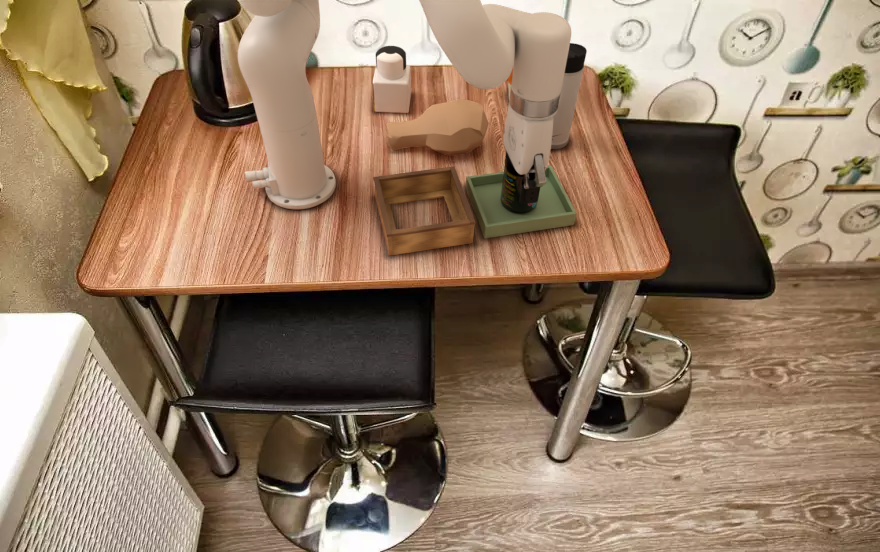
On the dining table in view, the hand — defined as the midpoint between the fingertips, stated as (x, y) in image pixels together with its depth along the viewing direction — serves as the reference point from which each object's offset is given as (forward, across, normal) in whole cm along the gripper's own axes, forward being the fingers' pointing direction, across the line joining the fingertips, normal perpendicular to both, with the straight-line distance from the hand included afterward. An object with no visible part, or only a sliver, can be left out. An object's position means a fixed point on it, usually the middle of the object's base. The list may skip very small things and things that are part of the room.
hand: (521, 186), depth 108 cm
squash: (+5, -20, -10) cm, 23 cm away
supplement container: (+4, 0, 0) cm, 4 cm away
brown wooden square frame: (+4, 0, -18) cm, 18 cm away
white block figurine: (+5, -36, -16) cm, 40 cm away
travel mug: (+5, -17, +12) cm, 22 cm away
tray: (+4, 0, 0) cm, 4 cm away
